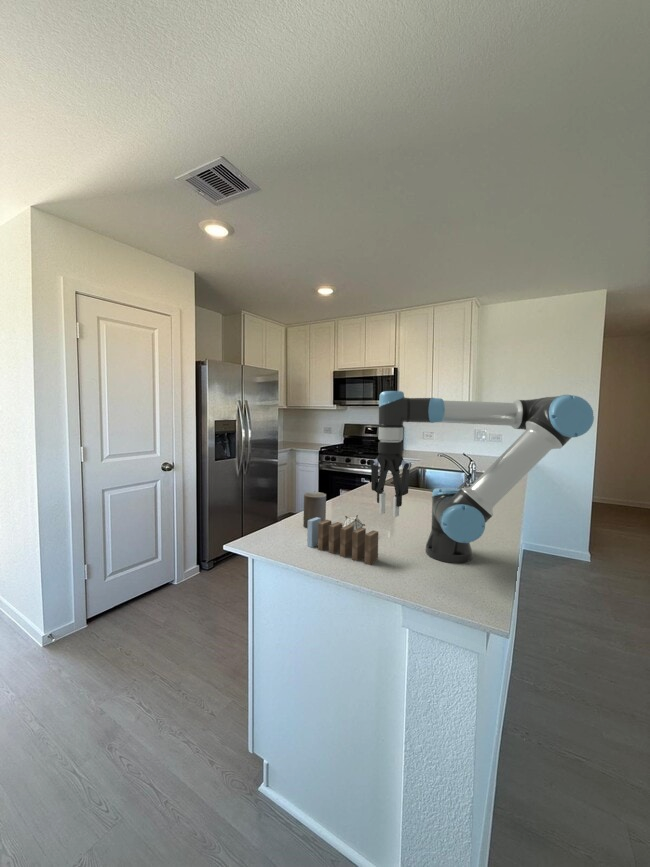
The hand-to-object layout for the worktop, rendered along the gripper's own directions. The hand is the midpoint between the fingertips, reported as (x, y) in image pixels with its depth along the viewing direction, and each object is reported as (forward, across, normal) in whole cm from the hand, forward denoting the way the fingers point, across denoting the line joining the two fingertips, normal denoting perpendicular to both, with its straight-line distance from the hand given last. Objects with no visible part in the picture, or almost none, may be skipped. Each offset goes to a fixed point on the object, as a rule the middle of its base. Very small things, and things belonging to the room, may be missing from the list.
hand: (388, 514), depth 113 cm
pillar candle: (+17, +44, -18) cm, 50 cm away
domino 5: (+17, +11, 0) cm, 20 cm away
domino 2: (+17, +25, 0) cm, 30 cm away
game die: (+17, +24, -17) cm, 34 cm away
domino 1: (+17, +30, 0) cm, 34 cm away
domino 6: (+17, +6, 0) cm, 18 cm away
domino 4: (+17, +16, 0) cm, 23 cm away
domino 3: (+17, +20, 0) cm, 26 cm away
